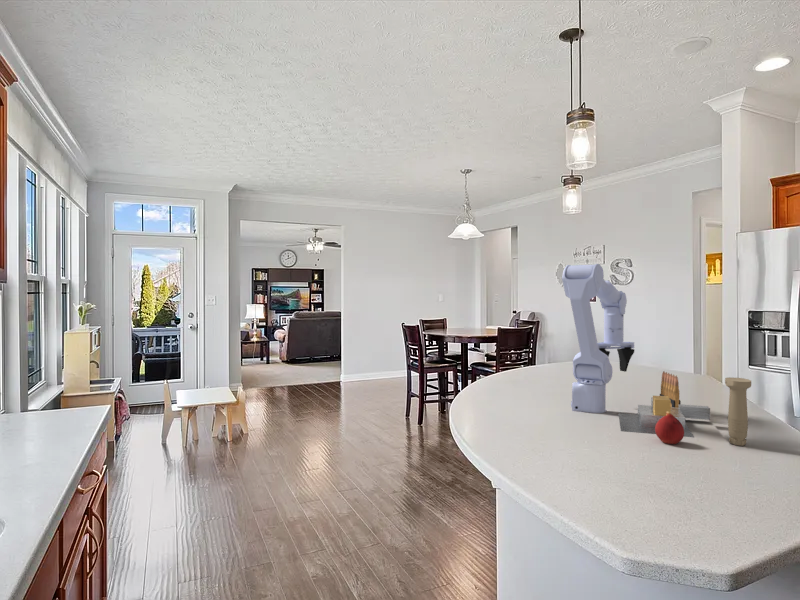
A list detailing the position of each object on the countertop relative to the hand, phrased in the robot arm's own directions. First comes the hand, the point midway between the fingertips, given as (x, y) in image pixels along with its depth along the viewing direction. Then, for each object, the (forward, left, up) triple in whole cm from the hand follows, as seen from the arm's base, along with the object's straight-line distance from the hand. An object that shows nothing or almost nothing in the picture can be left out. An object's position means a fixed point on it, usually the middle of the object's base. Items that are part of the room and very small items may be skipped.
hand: (613, 371), depth 166 cm
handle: (+26, -38, -11) cm, 47 cm away
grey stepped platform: (+11, -29, -10) cm, 32 cm away
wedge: (+11, -29, -8) cm, 32 cm away
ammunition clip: (+15, -9, -11) cm, 21 cm away
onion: (+11, -46, -11) cm, 48 cm away
